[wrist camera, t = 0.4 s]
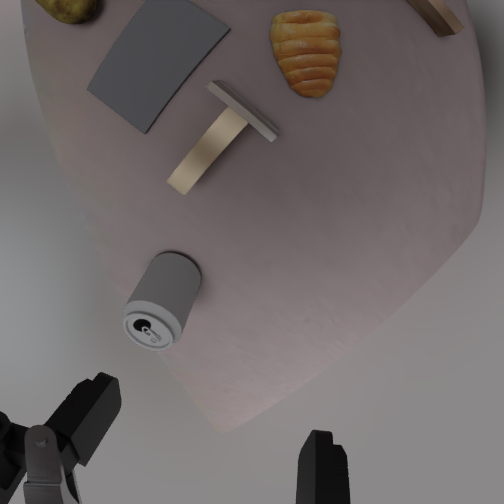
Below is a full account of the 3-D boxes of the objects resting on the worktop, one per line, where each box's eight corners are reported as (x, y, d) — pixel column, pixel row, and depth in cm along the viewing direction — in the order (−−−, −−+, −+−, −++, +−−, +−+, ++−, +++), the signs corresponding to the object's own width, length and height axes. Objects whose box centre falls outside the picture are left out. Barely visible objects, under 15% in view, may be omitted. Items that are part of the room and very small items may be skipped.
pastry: (343, 95, 27) (350, 98, 24) (279, 98, 28) (277, 101, 25) (333, 13, 22) (339, 5, 19) (267, 16, 23) (264, 8, 20)
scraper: (214, 195, 35) (205, 212, 31) (162, 153, 32) (146, 165, 28) (278, 128, 30) (277, 136, 26) (221, 80, 27) (210, 80, 23)
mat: (89, 88, 28) (86, 89, 27) (162, -14, 21) (160, -16, 20) (146, 133, 31) (144, 134, 30) (230, 29, 24) (229, 28, 23)
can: (175, 239, 38) (139, 301, 28) (213, 277, 41) (191, 344, 31) (142, 265, 42) (106, 324, 32) (178, 299, 44) (153, 361, 34)
